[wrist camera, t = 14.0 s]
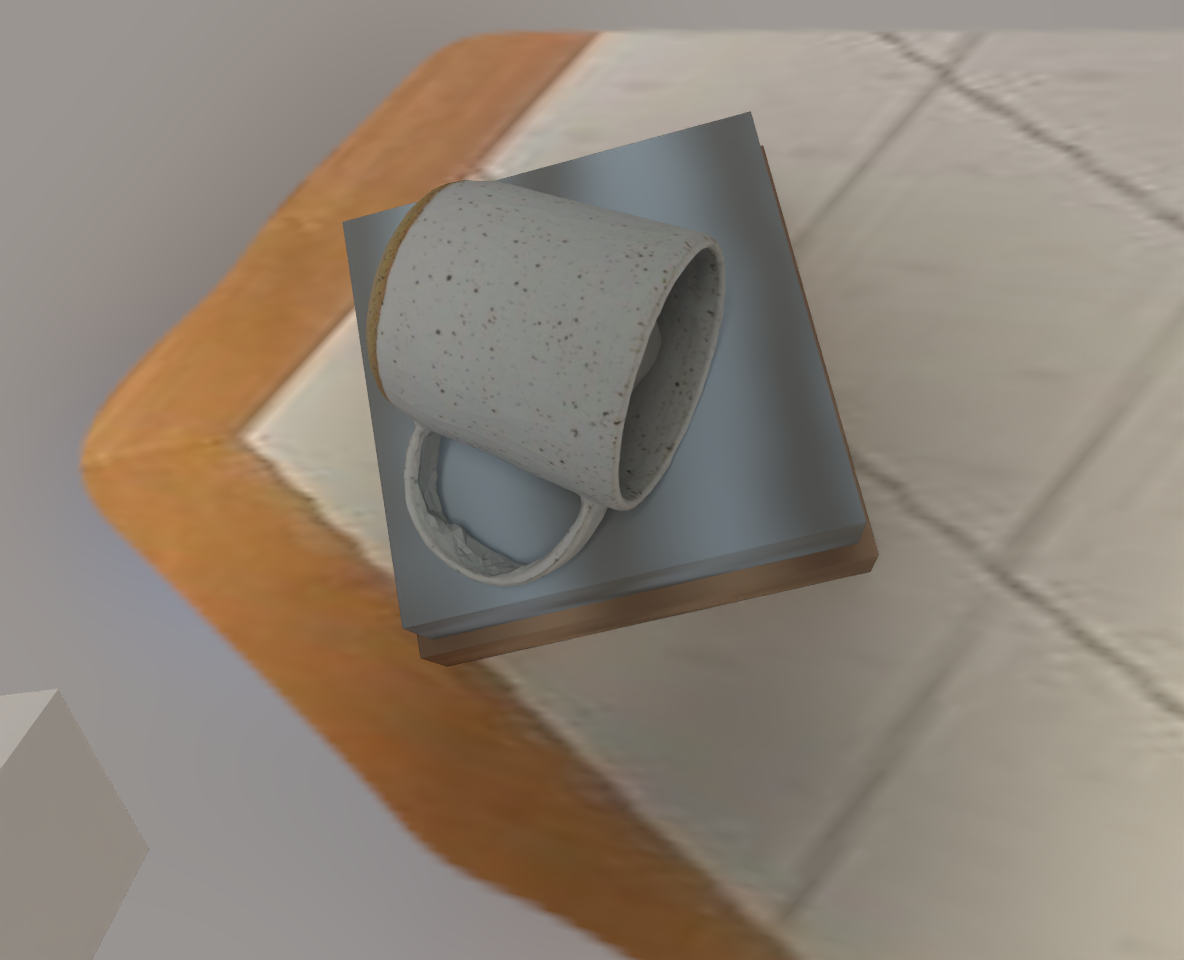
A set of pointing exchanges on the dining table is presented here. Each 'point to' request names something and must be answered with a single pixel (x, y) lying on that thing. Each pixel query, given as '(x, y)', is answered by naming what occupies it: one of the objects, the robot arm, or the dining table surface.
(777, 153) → the dining table surface
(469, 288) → the ceramic mug
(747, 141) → the grey and brown block
